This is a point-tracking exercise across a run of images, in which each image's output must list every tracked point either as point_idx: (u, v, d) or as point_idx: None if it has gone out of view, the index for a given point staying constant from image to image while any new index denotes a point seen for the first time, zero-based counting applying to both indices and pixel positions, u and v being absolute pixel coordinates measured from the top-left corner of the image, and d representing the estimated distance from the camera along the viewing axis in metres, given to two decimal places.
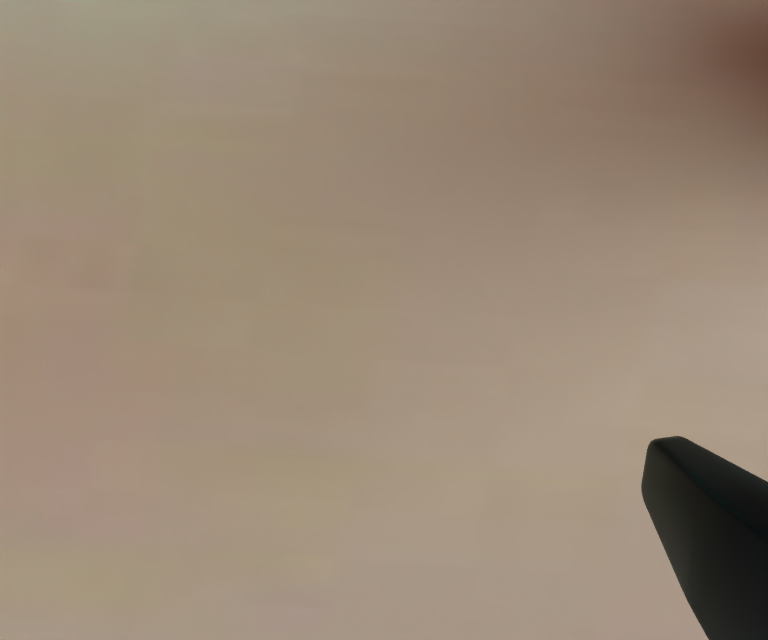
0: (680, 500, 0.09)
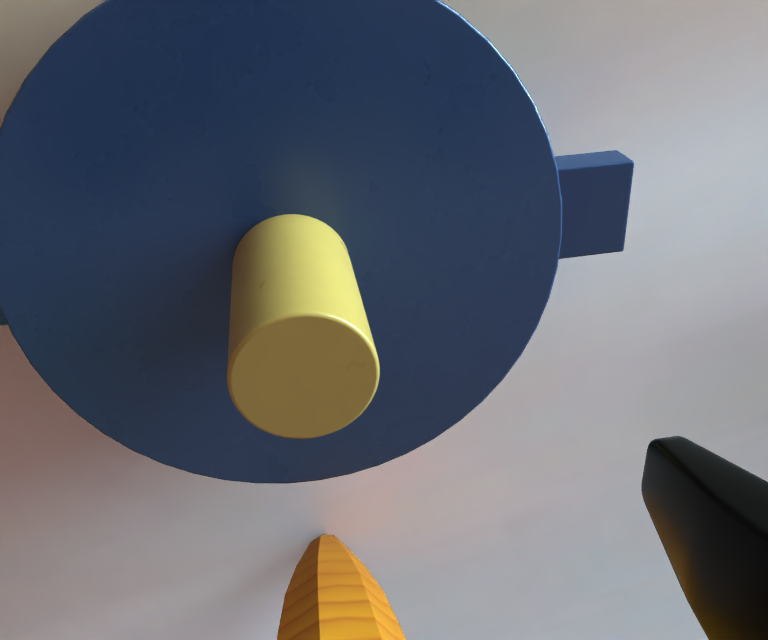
0: (680, 500, 0.09)
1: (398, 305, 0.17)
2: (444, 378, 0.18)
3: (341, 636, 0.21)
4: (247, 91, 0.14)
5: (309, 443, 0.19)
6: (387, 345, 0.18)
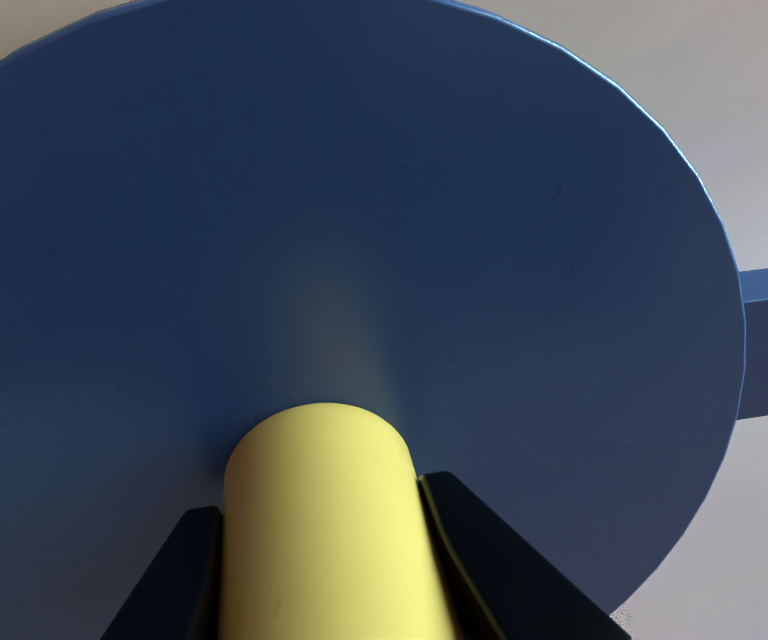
0: None
1: None
2: None
3: None
4: (249, 219, 0.08)
5: None
6: None
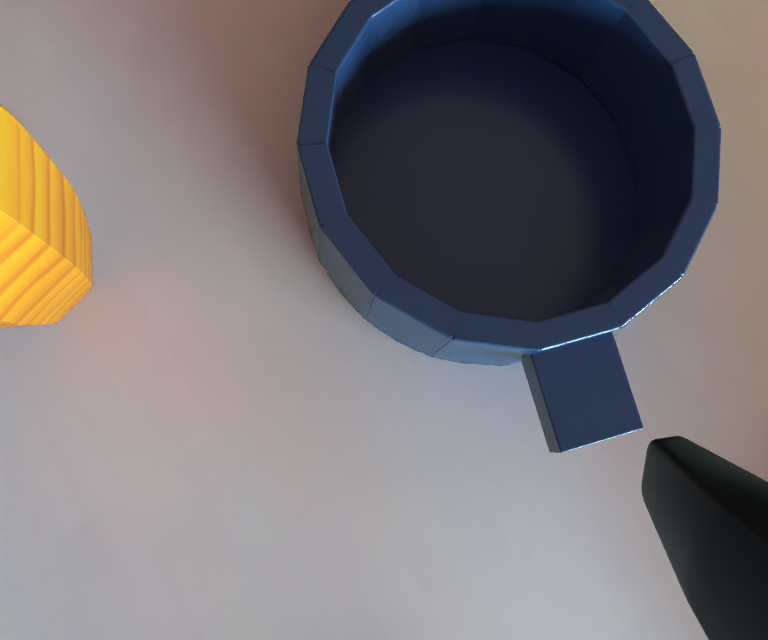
0: (680, 500, 0.09)
1: None
2: None
3: (76, 218, 0.17)
4: None
5: None
6: None
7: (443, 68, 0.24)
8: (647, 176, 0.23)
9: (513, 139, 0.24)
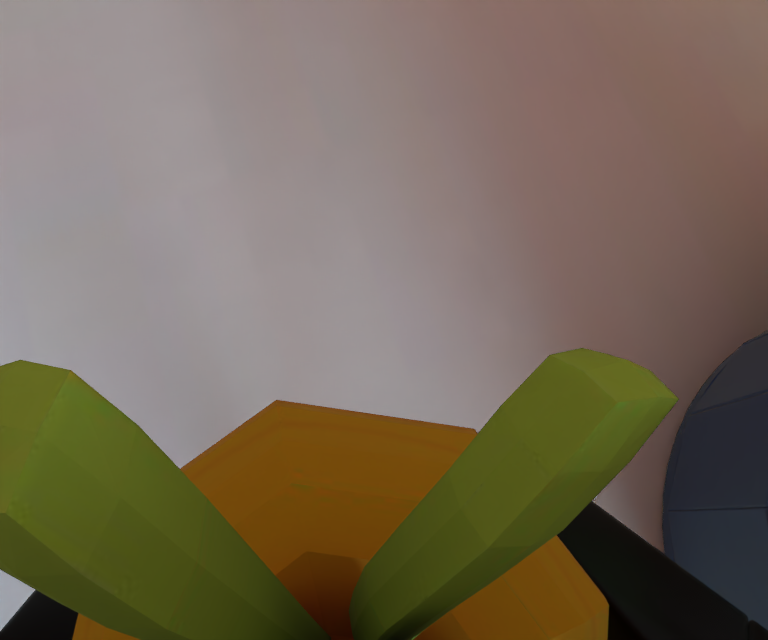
0: None
1: None
2: None
3: None
4: None
5: None
6: None
7: None
8: None
9: None
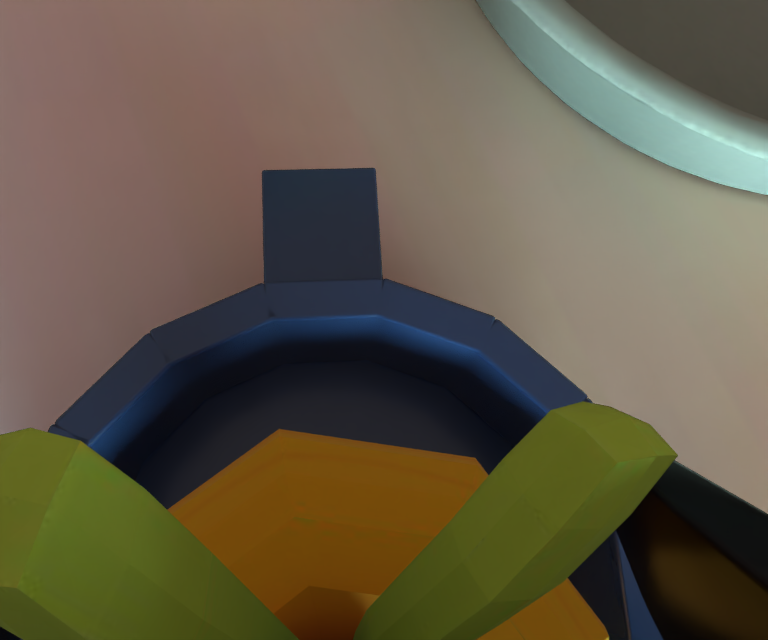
0: (639, 507, 0.09)
1: None
2: None
3: None
4: None
5: None
6: None
7: (321, 397, 0.17)
8: None
9: None
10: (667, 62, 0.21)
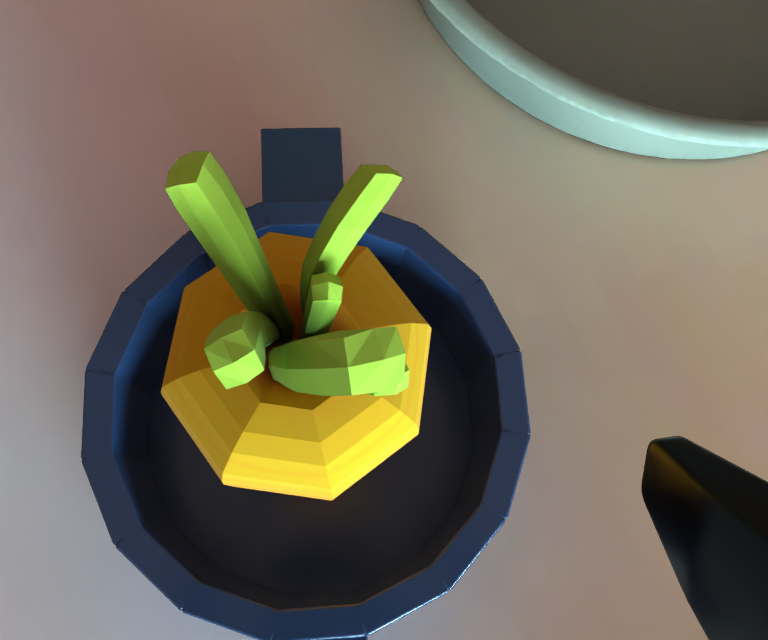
0: (680, 500, 0.09)
1: None
2: None
3: None
4: None
5: None
6: None
7: None
8: (476, 452, 0.22)
9: None
10: (567, 55, 0.28)
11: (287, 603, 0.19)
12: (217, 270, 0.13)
